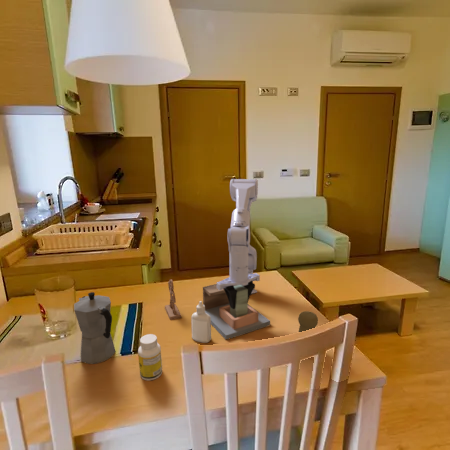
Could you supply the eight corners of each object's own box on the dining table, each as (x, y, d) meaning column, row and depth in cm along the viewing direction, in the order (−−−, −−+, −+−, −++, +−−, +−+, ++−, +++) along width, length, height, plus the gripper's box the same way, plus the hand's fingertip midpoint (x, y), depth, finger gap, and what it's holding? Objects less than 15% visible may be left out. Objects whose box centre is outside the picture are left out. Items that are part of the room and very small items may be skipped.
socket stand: (200, 312, 105) (199, 300, 104) (239, 301, 113) (240, 290, 112) (226, 340, 90) (225, 326, 89) (270, 325, 97) (270, 312, 96)
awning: (203, 308, 105) (202, 287, 103) (238, 299, 112) (238, 278, 110) (210, 316, 100) (210, 293, 98) (246, 305, 107) (246, 284, 105)
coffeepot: (70, 351, 85) (61, 291, 81) (102, 336, 92) (96, 280, 88) (97, 377, 75) (89, 310, 71) (131, 358, 82) (126, 296, 78)
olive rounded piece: (318, 358, 82) (321, 320, 79) (295, 355, 83) (297, 318, 80) (316, 344, 87) (319, 309, 85) (294, 342, 89) (296, 307, 86)
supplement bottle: (142, 366, 79) (139, 332, 77) (163, 365, 79) (161, 331, 77) (138, 382, 74) (135, 345, 71) (161, 380, 74) (158, 344, 72)
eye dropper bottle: (200, 346, 87) (199, 307, 84) (190, 337, 91) (188, 300, 89) (213, 340, 90) (212, 303, 87) (202, 332, 94) (201, 296, 91)
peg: (230, 313, 99) (230, 287, 97) (240, 310, 101) (240, 284, 99) (236, 318, 95) (236, 291, 93) (247, 315, 97) (247, 289, 95)
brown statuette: (181, 317, 102) (180, 284, 100) (169, 320, 101) (168, 286, 98) (175, 305, 110) (173, 274, 108) (164, 307, 109) (162, 276, 106)
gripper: (224, 274, 87) (224, 317, 90) (265, 264, 94) (264, 305, 97) (213, 266, 93) (213, 307, 96) (252, 258, 100) (252, 296, 103)
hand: (238, 305), depth 97 cm, fingers closed on peg, 4 cm apart
